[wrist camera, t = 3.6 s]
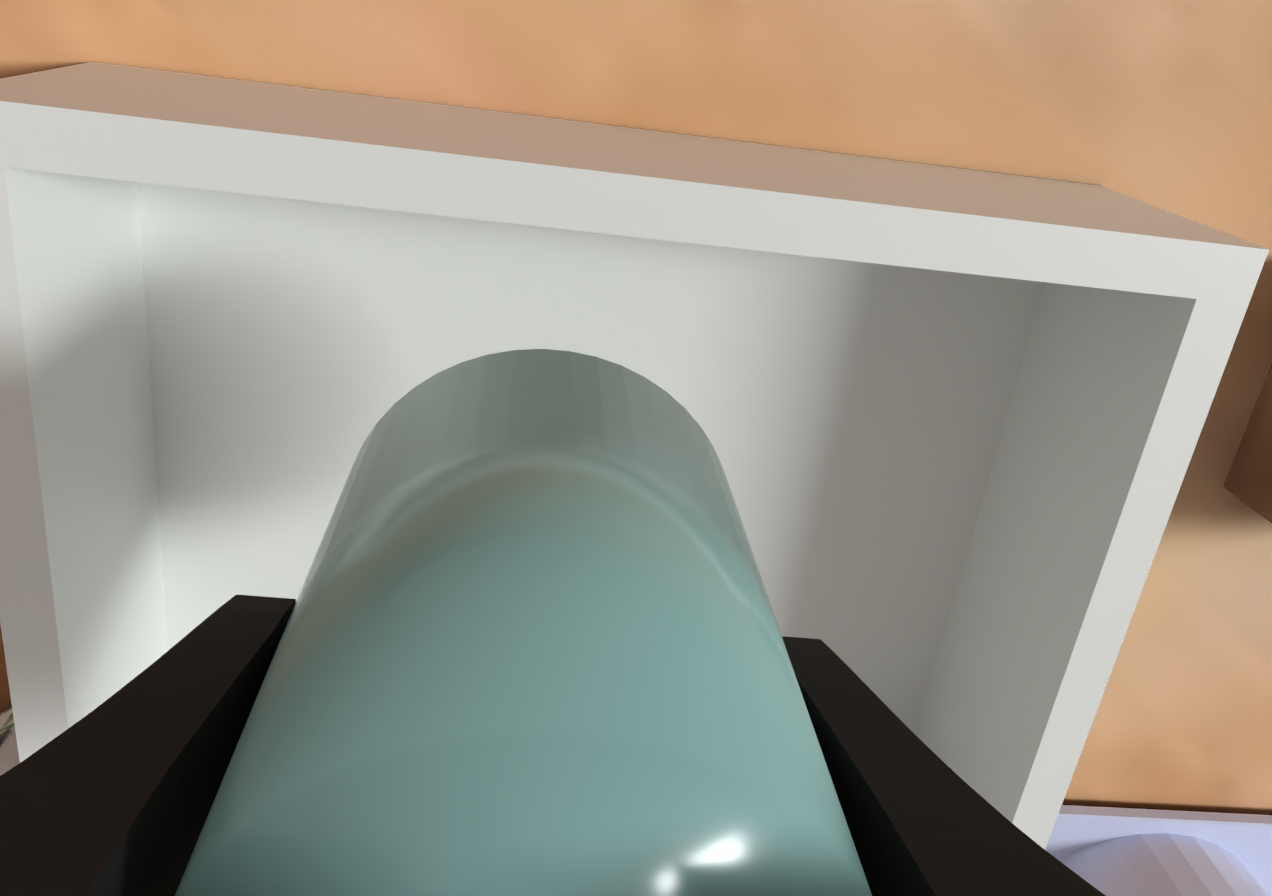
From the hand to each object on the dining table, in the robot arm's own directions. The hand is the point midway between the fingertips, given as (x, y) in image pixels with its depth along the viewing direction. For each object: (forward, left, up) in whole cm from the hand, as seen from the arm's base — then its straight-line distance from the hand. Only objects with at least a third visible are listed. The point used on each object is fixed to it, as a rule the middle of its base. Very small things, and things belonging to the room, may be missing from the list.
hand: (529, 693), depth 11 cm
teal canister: (+1, 0, -2) cm, 3 cm away
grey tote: (-2, -1, -9) cm, 10 cm away
